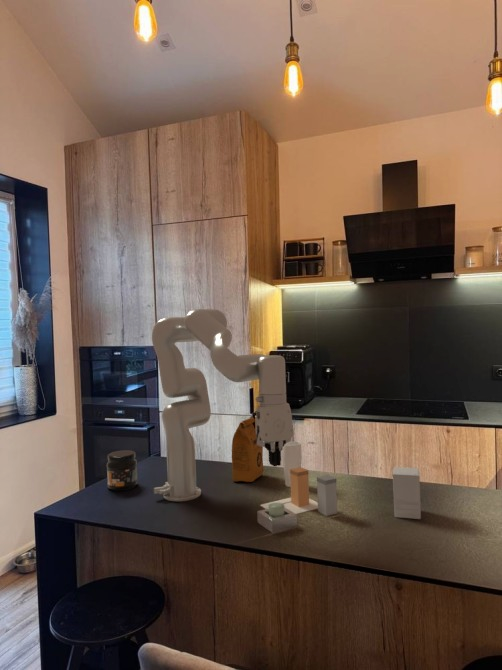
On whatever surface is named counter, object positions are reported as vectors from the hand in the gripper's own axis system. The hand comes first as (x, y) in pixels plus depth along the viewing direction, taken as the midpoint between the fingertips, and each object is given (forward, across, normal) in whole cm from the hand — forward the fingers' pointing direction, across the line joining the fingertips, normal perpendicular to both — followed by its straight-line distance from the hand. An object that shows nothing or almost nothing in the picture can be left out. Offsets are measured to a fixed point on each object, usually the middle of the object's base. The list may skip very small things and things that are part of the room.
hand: (275, 464), depth 133 cm
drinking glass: (+17, +22, +25) cm, 38 cm away
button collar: (+17, 0, 0) cm, 17 cm away
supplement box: (+17, +36, -14) cm, 42 cm away
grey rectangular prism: (+17, +17, -1) cm, 24 cm away
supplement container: (+17, -29, +59) cm, 68 cm away
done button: (+15, 0, 0) cm, 15 cm away
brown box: (+17, +14, +9) cm, 24 cm away
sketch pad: (+17, +11, +9) cm, 22 cm away
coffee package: (+17, +13, +41) cm, 46 cm away
